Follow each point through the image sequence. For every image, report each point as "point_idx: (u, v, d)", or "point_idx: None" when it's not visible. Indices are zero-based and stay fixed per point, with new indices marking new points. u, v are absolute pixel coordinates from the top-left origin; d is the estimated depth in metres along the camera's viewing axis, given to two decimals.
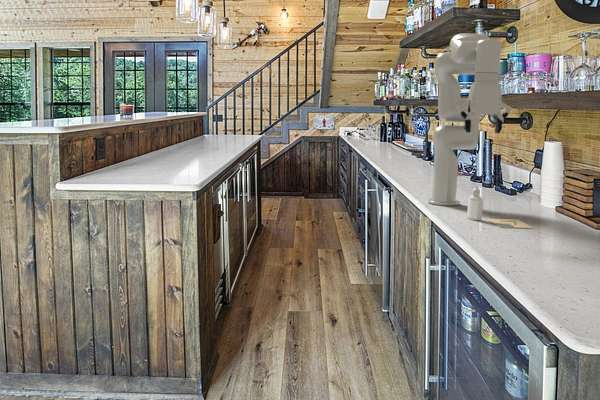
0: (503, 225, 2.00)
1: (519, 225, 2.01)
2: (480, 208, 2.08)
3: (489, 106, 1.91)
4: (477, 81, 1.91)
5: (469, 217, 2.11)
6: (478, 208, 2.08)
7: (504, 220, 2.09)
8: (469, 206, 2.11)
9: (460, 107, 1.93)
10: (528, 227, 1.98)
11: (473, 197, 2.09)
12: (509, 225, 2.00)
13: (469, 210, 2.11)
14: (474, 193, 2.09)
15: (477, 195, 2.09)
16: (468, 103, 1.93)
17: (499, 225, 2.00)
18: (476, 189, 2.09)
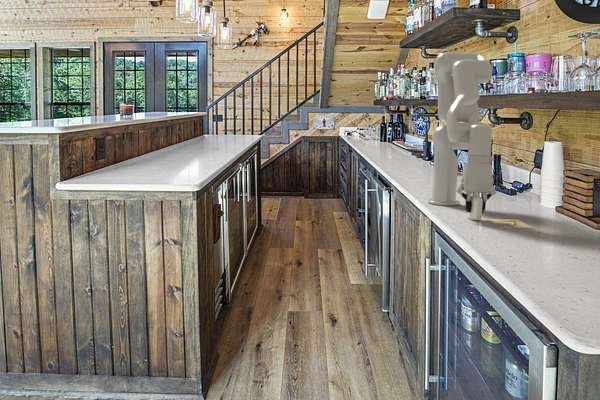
0: (503, 225, 2.00)
1: (519, 225, 2.01)
2: (479, 208, 2.08)
3: (481, 185, 2.07)
4: (470, 163, 2.07)
5: (469, 217, 2.11)
6: (477, 208, 2.08)
7: (504, 220, 2.09)
8: None
9: (459, 191, 2.09)
10: (528, 227, 1.98)
11: (473, 197, 2.09)
12: (509, 225, 2.00)
13: None
14: (474, 193, 2.09)
15: (477, 195, 2.09)
16: None
17: (499, 225, 2.00)
18: None
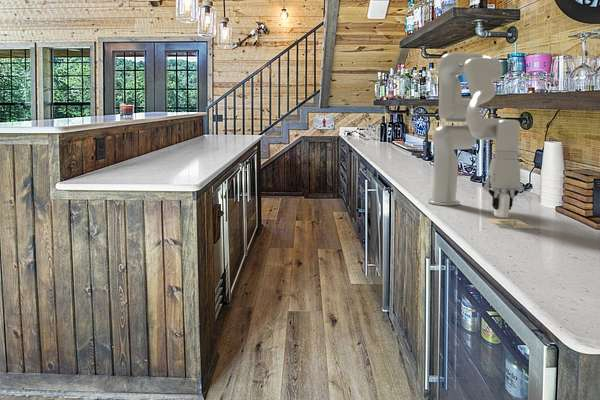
0: (503, 225, 2.00)
1: (519, 225, 2.01)
2: (506, 205, 2.04)
3: (508, 181, 2.03)
4: (497, 158, 2.02)
5: (496, 214, 2.07)
6: (504, 205, 2.04)
7: (504, 220, 2.09)
8: None
9: (486, 188, 2.05)
10: (528, 227, 1.98)
11: (500, 193, 2.05)
12: (509, 225, 2.00)
13: None
14: (501, 189, 2.05)
15: (504, 192, 2.05)
16: None
17: (499, 225, 2.00)
18: None
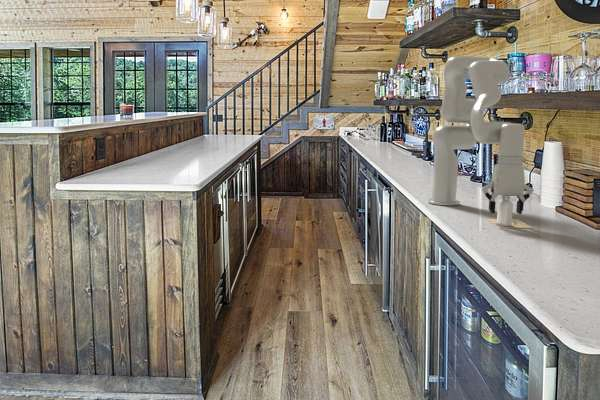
0: None
1: (519, 225, 2.01)
2: (509, 213, 1.98)
3: (512, 187, 1.97)
4: (501, 164, 1.96)
5: (498, 222, 2.01)
6: (507, 213, 1.98)
7: None
8: (498, 211, 2.01)
9: (484, 189, 1.98)
10: (528, 227, 1.98)
11: (502, 201, 1.99)
12: None
13: (498, 215, 2.01)
14: (503, 197, 1.99)
15: (507, 199, 1.98)
16: (492, 185, 1.98)
17: (499, 225, 2.00)
18: None
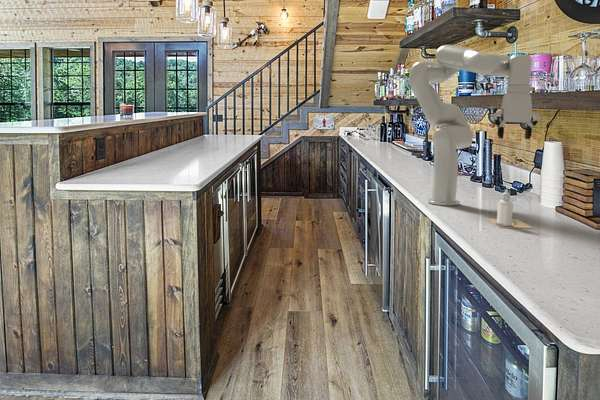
0: None
1: (519, 225, 2.01)
2: (509, 213, 1.98)
3: (520, 114, 2.12)
4: (510, 92, 2.12)
5: (498, 222, 2.01)
6: (507, 213, 1.98)
7: None
8: (498, 211, 2.01)
9: (494, 116, 2.14)
10: (528, 227, 1.98)
11: (502, 201, 1.99)
12: None
13: (498, 215, 2.01)
14: (504, 197, 1.99)
15: (507, 199, 1.98)
16: (501, 112, 2.14)
17: (499, 225, 2.00)
18: (506, 193, 1.99)
